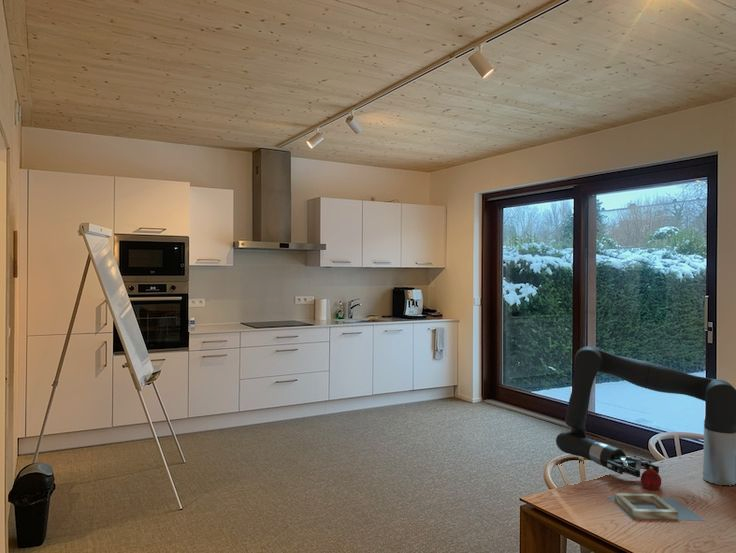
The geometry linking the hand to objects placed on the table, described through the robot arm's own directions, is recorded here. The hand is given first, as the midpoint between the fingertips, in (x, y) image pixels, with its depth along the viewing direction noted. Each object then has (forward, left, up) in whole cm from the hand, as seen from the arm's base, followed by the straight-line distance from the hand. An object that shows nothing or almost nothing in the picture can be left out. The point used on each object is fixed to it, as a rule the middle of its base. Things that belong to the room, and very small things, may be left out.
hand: (649, 472), depth 172 cm
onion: (0, +1, -6) cm, 6 cm away
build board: (+7, +16, -6) cm, 18 cm away
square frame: (+10, +17, -5) cm, 20 cm away
